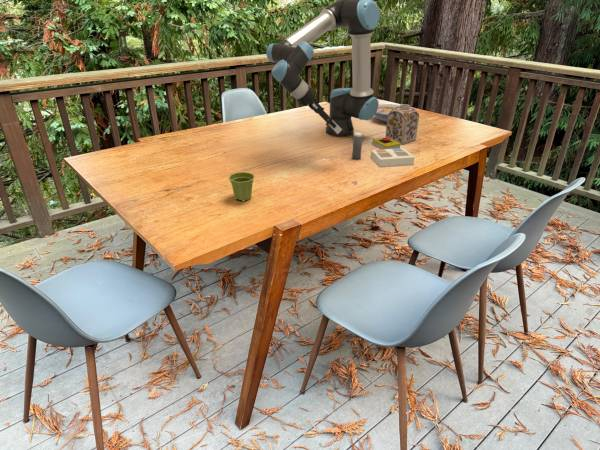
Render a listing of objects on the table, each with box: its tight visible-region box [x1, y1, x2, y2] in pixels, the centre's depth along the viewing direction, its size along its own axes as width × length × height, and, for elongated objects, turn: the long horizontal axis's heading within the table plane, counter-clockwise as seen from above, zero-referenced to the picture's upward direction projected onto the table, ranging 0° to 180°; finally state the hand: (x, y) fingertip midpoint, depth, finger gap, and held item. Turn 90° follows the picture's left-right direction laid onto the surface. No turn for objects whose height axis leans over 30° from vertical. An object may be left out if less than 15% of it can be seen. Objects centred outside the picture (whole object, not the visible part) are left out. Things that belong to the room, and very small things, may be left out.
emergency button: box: [370, 136, 401, 150], centre depth 205 cm, size 9×4×15 cm
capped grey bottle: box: [351, 131, 364, 161], centre depth 189 cm, size 4×4×12 cm
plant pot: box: [228, 171, 256, 201], centre depth 154 cm, size 9×9×9 cm
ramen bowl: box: [374, 103, 402, 124], centre depth 242 cm, size 25×23×8 cm
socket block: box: [370, 147, 416, 168], centre depth 189 cm, size 12×16×4 cm
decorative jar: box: [384, 103, 420, 146], centre depth 211 cm, size 12×12×18 cm
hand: (335, 127), depth 182 cm, fingers open, 13 cm apart
